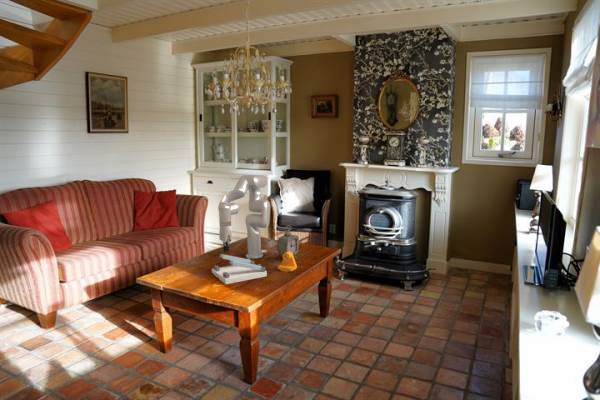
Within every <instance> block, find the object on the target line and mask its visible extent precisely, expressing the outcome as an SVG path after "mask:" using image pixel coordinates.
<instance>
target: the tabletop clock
mask: <svg viewBox="0 0 600 400" xmlns="http://www.w3.org/2000/svg"><path fill="white" fill-rule="evenodd" d="M288 227H290V229H288ZM286 229H287V230H286ZM291 230H292V226H291V225H290V224H287V225H286V226H285V227H284V231H285V232H284V234H283V235H281V236H278V238H277V243H276V244H277V245H276V246H277V253H278V255H279V256H282V257H283V254H284V253H286V252H288V251H290V252H292V253H293V256H294V259H297V258H298V257H297V256H296V255H298V253H299V250H300V240H299V238H300V237H299V236H298V235H296V234H292V232H291Z"/></svg>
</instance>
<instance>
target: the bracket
mask: <svg viewBox="0 0 600 400" xmlns="http://www.w3.org/2000/svg"><path fill="white" fill-rule="evenodd" d="M297 266H298V265H297V262H296V258H295V256H293V253H292V252H290V251H288V252H286V253H284V254H283V256H282V261H281V264H279V265H278V266H277V270H280V271H281V272H286V273H289V272H293V271H295V270H296V269H297V268H298V267H297Z"/></svg>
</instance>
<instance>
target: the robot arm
mask: <svg viewBox="0 0 600 400" xmlns="http://www.w3.org/2000/svg"><path fill="white" fill-rule="evenodd" d="M267 185H268V178H267V176H266V175H261V174H243V175H241V176H240V177H239V179H238V181H237V183H236V185H235V186H234V188H233V190H230V191H229V192H227V193H226V194H224V195H223V196H222V198H221V200H220V202H219V204H218V208H217V209H218V210H217V211H218V219H219V237H218V238H219V240H220V241H221V242H222V247H223V248H222V249H223V252H224V253H227V252H230V245H231V242H232V228H231V227H232V215H237V214H239V213H240V211H241V206H240V205H239V204H238V203H236V202H233V201H237V200H239V199H242V198H244V197H245V196H246V194H247V192H248V193H249V194H248V198H249V199H248V210H249V212H252V213H250V214H247V215H246V216H245V226H246V232H247V233H246V235H247V239H246V241H247V253H246V254H245V257H246V259H247V258H250V260H251V259H253V260H254V259H261V258H263V256H264V253H265V254H266V253H268V250H267V249H262V246H261V243H262V242H261V238H262V237H261V231H260V229H266V228H268V227H269V226H270V221H271V203H270V201H269V200H268V199H262V191H261V189H262V188H265V187H267ZM260 188H261V189H260ZM258 213H260V214H258ZM259 228H260V229H259Z"/></svg>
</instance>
